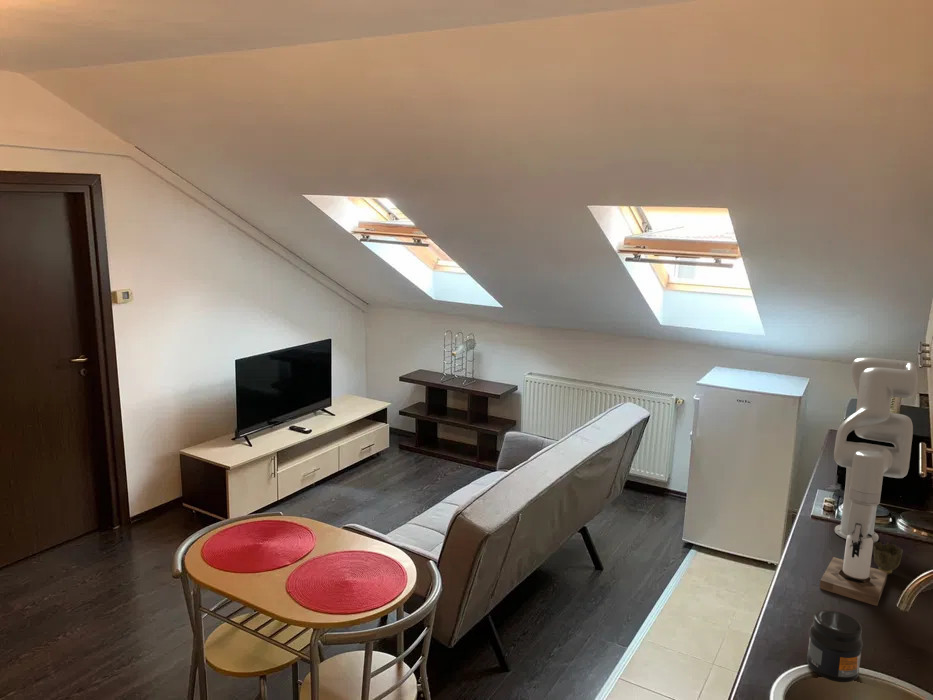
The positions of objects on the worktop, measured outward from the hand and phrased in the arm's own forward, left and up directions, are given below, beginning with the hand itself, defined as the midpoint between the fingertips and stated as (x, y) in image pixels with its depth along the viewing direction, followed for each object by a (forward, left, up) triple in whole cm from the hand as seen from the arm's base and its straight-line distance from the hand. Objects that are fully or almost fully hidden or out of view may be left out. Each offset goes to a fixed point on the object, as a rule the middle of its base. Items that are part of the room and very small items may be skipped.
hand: (856, 555), depth 188 cm
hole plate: (0, 0, -9) cm, 9 cm away
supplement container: (+47, +3, -9) cm, 48 cm away
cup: (-14, +6, -9) cm, 18 cm away
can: (+1, 0, -5) cm, 6 cm away
